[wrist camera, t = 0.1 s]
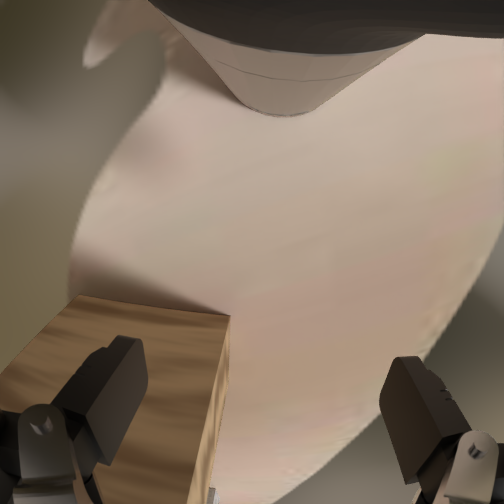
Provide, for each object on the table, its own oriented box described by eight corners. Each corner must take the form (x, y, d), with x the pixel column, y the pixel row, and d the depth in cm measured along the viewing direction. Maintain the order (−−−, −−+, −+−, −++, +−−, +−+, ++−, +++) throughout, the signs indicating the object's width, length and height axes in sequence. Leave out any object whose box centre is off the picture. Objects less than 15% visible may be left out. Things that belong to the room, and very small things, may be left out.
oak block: (78, 294, 29) (-58, 447, 7) (230, 315, 28) (169, 578, 6) (94, 357, 32) (2, 504, 10) (228, 381, 31) (191, 585, 9)
